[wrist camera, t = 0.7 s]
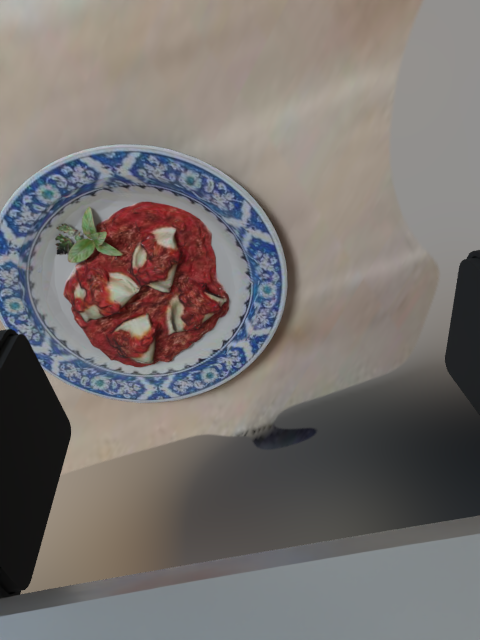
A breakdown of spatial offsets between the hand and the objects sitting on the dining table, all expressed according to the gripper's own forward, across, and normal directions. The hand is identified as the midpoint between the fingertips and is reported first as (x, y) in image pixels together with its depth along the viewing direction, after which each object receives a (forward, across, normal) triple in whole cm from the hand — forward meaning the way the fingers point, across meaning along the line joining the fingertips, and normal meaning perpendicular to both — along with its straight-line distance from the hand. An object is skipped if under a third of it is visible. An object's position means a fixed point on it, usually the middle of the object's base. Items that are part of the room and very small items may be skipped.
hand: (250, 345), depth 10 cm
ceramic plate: (+30, +8, +14) cm, 34 cm away
